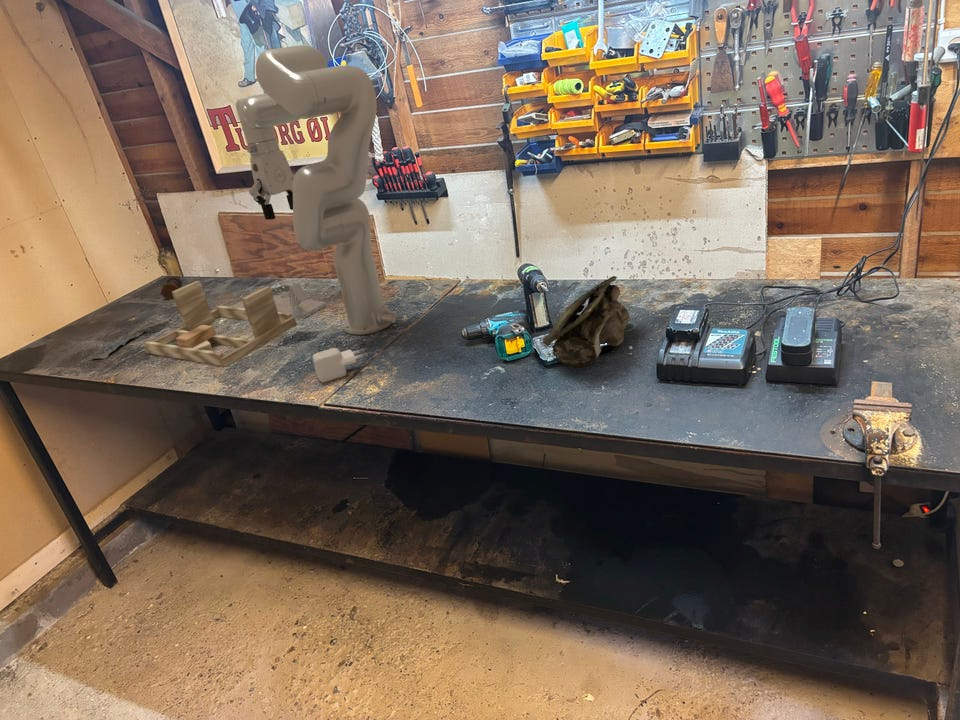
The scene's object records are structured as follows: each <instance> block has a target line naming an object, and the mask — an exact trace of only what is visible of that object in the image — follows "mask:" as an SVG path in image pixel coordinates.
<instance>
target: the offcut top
mask: <svg viewBox="0 0 960 720" xmlns="http://www.w3.org/2000/svg"><path fill="white" fill-rule="evenodd" d="M215 335H217V334H216V331H215V329H214V326H213V325H200V326H199V327H197V328H195V329H193V330H191V331H189V332H187V333H185V334H183V335H181V336H179V337H177V338H176V339H175V340H176V342H177V346H182V347H189V348H193V347H195V346H197V345H198V344H200V343H202V342H204V341H206V340H208V339H210V338H211V337H213V336H215Z"/></svg>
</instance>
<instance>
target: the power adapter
mask: <svg viewBox="0 0 960 720" xmlns="http://www.w3.org/2000/svg"><path fill="white" fill-rule="evenodd" d="M365 351H366V350H365V348H360V349H357V350H354V351H352V350H351V349H346V350H344V351H340V349H339V348H338V347H332V348H329V349H325V350H321V351H319V352H315V353H314V354H312V362H313V366H314V369H315V372H316V375H317V378H318V380H319V381H320V383H327V382H328V383H329V382H331V381H334V380H337V379H340V378H343V377H345V376H346V375H347V369H346V366H348V365H352V364H355V363H357V359H360V358H365V357H368V356H369V354H368V352H365ZM356 354H357V355H356Z"/></svg>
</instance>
